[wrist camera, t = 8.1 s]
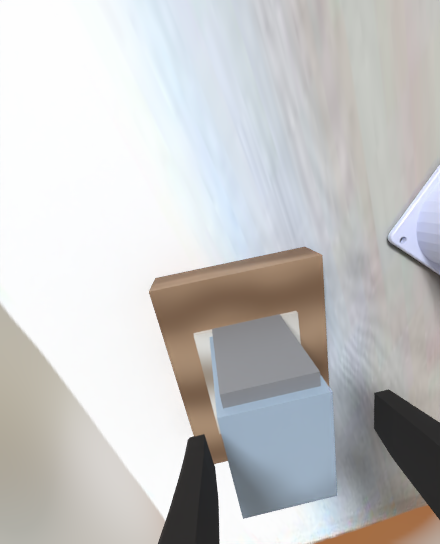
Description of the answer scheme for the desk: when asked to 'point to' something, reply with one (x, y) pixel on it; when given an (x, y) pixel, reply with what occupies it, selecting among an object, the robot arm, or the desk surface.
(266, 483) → the block
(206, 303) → the stand
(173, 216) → the desk surface
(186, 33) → the desk surface
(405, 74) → the desk surface
